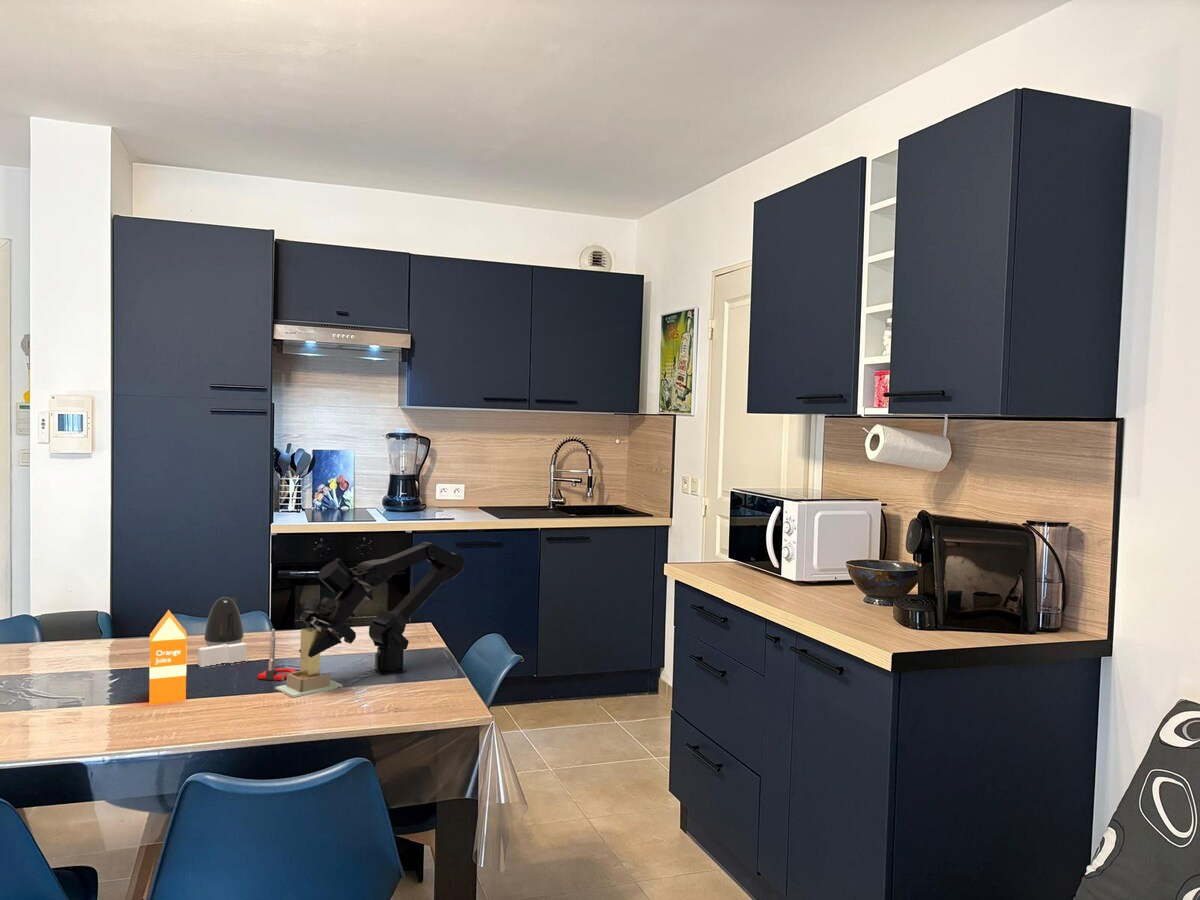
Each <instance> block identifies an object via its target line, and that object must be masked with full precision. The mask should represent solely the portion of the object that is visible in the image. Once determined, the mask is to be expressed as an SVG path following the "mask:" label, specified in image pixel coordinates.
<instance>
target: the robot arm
mask: <svg viewBox="0 0 1200 900" xmlns="http://www.w3.org/2000/svg"><path fill="white" fill-rule="evenodd" d="M423 561H428V562H430V565H429V567H428V568H429V569H428V572H427V573H426V574H425V576H423V578H422V579H421V580H420V581H419V582H418V583H417V584H416V585H415V586H414V587H413V588H412V590H410V592H408V593H407V595H406V596H405V597H403V599H402V600H401V601H400V602H399V603H398V604H397V605H396V606H395V607H394V608H393V609H391V610H389V611H387V610H383V609H382V610H381V611H379V612H378V614H377V615H376V617H375V618H373V619H371V623H370V625H369V626H368V637H369V638H370V639H371V640H372V642H373V645H374V646H375V647H377V648H376V649H377V650H376V653H375V655H374V669H375V670H376V671H377V672H378V673H379V674H380V675H388V674H389V675H390V674H396V673H397V674H398V673H405V672H406V669H405V668H404V650H407V648H408V645H409V643H410V642H409V640H408V639H407V638H406V637H405V636H404V635H403V634H404V632H405V631H406V626H407V623H408V621H409V620H410V619H411V618H412V616H413V615H414V614H415V613H417V611H418V610H419V609H420V608H421V607H422V606H423V605H424V603H426V602H427V600H428V599H429V598H430V597H431V596H432V595H433V594H434V593H435V592H436V590H438V589H439V588H440V586H441V585H443V584H444V583H446V582H448V581H451V580H453V579H454V578H456V577H457V576H458V575H459V574H460V573H462V571H463V570H464V568H465V565H464V564H465V561H464V558H463V556H462V555H461V554H459V553H454V552H450V551H448V550H446V549H443V548H442V547H440V546H438V545H436V544H435V543H434V542H433V543H432V542H429V541H428V542H427V541H422V542H421V543H419V544H417V545H415V546H413V547H410V548H408V549H405V550H403V551H400V552H398V553H396V554H393V555H391V556H388V557H386V558H382V559H381V558H379V559H371V560H366V561H362V562H360V563H358V564H357V566H355V567H351V568H349V567H348V566H347V565H346V564H345V562H344V561H343V560H342V558H341V559H340V558H335V559H334V560H333V561H331V562H329V563H327V564H326V565H325V566H324V565H323V566H322V568H321V569H320V570H319V572H318V575H317V578H318V579H319V580H320V581H321V582H322V583H323V584H324V585H326V587H328V589H330V590H331V591H332V592H333V593H339V594H338V595H337V596H336V597H335V598H329V597H326V596H325V597H323V599H320V598H316V597H313V596H308V597H307V600H306V603H305V605H304V609H305V610H304V611H303V612H302V613H301V614H300V615H299V619H300V621H302V622H303V623H304V624H305V625H306V628H311V627H312V628H315V629H318V630H320V637H319V638H318V640H317V641H316V643H315V644H314V646H313V647H312V648H311V650H310V652H309V653H308V656H309V657H313V656H315V655H317V654H319V653H320V654H321V653H323V652H324V651H326V650H328V649H330V648H333V647H335V646H337V645H340V644H342V642H343V641H344V642H345V643H346V644H348V645H352V644H353V642H354V641H355V639H356V638H357V634H356V633H357V632H355V630H353V629H352V627H350V626H349V625H348V624H347V621H349V619H350V618H351V619H354V618H355V616H356V614H355V613H354V612H355V611H356V610H357V608H358V607H359V606H360V604H362V602H363V601H364V600H368V601H371V602H372V601H373V600H374V596H373V592H374V591H373V589H370V588H366V587H365V586H364V585H366V586H369V587H378V586H380V585H383V584H384V583H385V582H387V581H388V580H390V578H391V577H392V576H393V575H394V574H396V573H398V572H400V571H403V570H405V569H407V568H410V567H412V566H414V565H416V564H417V565H418V564H419V563H421V562H423ZM354 580H355V581H354ZM356 581H357V582H356ZM342 638H343V641H342ZM300 653H301V650H300V649H299V654H300Z"/></svg>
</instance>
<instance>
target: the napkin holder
mask: <svg viewBox="0 0 1200 900" xmlns="http://www.w3.org/2000/svg"><path fill="white" fill-rule="evenodd" d="M247 649H248V644H247V643H245V642H241V643H237V644H231V645H227V644H222V645H217V646H210V647H208V646H204V647H198V648H197V666H198V665H199V666H200V667H205V666H210V665H216V664H221V663H227V662H228V663H234V662H240V661H246V662H247V660H248V659H247V658H248V657H247V652H248V651H247ZM200 667H199V668H200Z"/></svg>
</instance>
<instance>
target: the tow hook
mask: <svg viewBox="0 0 1200 900" xmlns="http://www.w3.org/2000/svg"><path fill="white" fill-rule="evenodd" d="M275 635H276V628H272V629H271V637H270V639H269V640H270V641H269V642H270V643H269V659H268V669H266V670H264V671H263V672H262V673H260V672H259V673H258V674H257V679H259V680H265V679H266V680H265V681H272V680H274V681H277V680H280V681H279V682H283V681H284V680H285V679H287V672H289V673H292V672H297V670H296V669H293V668H286V667H284V668H282V667H280V668H279V667H278V668H277V667H275V665H276V659H275V658H276V655H275V653H276V636H275ZM277 673H279V674H277ZM280 673H281V674H280ZM283 673H284V674H283Z"/></svg>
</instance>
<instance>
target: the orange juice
mask: <svg viewBox="0 0 1200 900" xmlns="http://www.w3.org/2000/svg"><path fill="white" fill-rule="evenodd" d="M187 640H188V635H187V631H186V629H185V628H184V627H183V626H182V624H181V623H180V622H179V621H178V620H177V619H176V617H175V615H173V614H172V613H171V611H170V610H169V609H168V610H167V611H166V613H165V614H164V616H163V617H162V618H161V619H160V621H159V622H158V623H157V624H156V625H155V627H154V628H153V630H152V631H151V633H150V634H149V699H148V700H149V705H150V706H152V705H153V706H154V705H160V704H170V703H169V702H171V703H178V702H177V701H180V702H186V701H185V700H186V699H187V697H186V696H187V692H186V691H187V690H186V689H187V647H188V645H187Z"/></svg>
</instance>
